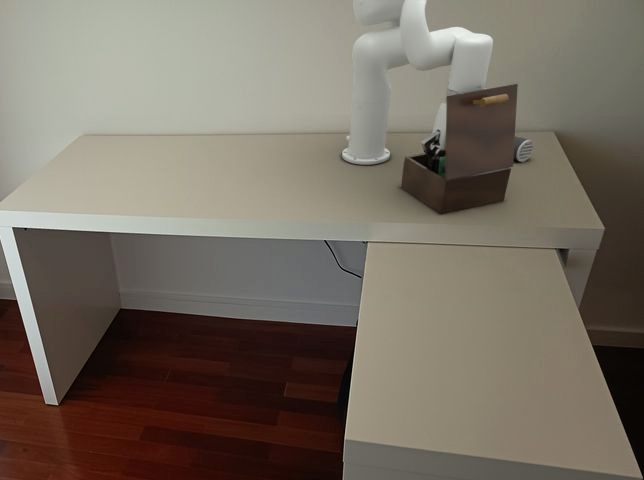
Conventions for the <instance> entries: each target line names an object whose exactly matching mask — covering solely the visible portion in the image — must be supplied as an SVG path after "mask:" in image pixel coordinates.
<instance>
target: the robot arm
mask: <svg viewBox="0 0 644 480" xmlns="http://www.w3.org/2000/svg"><path fill="white" fill-rule="evenodd" d="M351 1H352V9H353V15H354V19H355V21H356V23H358V24H359V25H360V26H365V27H367V26H374V25H379V24H385V23H387V25H388V27H385V28H380V29H376V30H371V31H368V32H366V33H364V34H362V35H361V36H359V37H358V38H357V39H356V40H355V42H354V43H353V46H352V50H351V64H352V72H353V73H352V76H353V81H352V83H353V85H352V98H351V99H352V100H351V111H350V112H351V113H350V124H349V135H346V137H345V140H346V141H347V142H348V146H347V147H346V148H344V149H343V150H342V152H341V158H342V159H343V160H344V161H346V162H348V163H350V164H353V165H354V164H355V165H361V166H363V165H364V166H370V165H379V164H382V163H385V162H386V161H388V160H390V157H391V152H390V150H389V149H388V148H387V147H386V139H387V132H388V131H387V130H388V121H389V115H390V114H389V113H390V107H391V105H390V104H391V96H392V85H391V82H390V79H389V77H388V75H387V71H388V70H392V69H395V68H399V67H403V66H406V65H407V66H408V65H409V64H410V65H411V67H412V68H413V69H415V70H416V71H421V72H425V71H430V70H434V69H438V68H442V67H447V66H450V69H449V74H448V75H449V76H448V81H447V88H446V94H445V99H444V101H443V102H441V104H440V105H439V108H438V110H437V114H436V117H435V120H434V124H433V128H432V132H431V134H430V135H428V136H427V137H426V138H424V139H423V140H422V141H421V143H420V144H421V147H422V149H423V153H426V155H427V156H428V157H429V161H428V167H427V168H428V169H429V170H431V171H433V172H434V173H436V174H438V169H439V163H440V160H439V159H438V158H439V157H440V155H441V154H442V153H443V152H444V151H446V107H447V96H449V95H454V94H460V93H466V92H471V91H477V90H482V89H488V88H487V87H486V81H487V77H488V72H489V67H490V62H491V57H492V52H493V47H494V39H493V38H492V37H491V36H490V35H488V34H486V33H475V32H473V31H471V30H469V29H467V28H464V27H462V26H452V27H447V28H441V29H437V30H432V31H430V30H429V27H428V24H427V18H426V6H427V1H428V0H351ZM431 145H432V146H431ZM436 151H437V152H436ZM435 152H436V153H435Z"/></svg>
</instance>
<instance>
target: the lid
mask: <svg viewBox="0 0 644 480" xmlns="http://www.w3.org/2000/svg"><path fill="white" fill-rule="evenodd" d="M518 86H519V85H518V83H511V84H510V83H509V84H506V85H500V86H494V87H489V88H487V89H482V90H477V91H471V92H466V93H460V94H454V95H449V96H447V107H446V167H445V180H450V179H455V178H460V177H465V176H470V175H475V174H480V173H484V172H489V171H494V170H499V169H504V168H513V167H514V160H515V159H514V142H515V136H516V123H517V106H518V105H517V104H518V88H519V87H518Z"/></svg>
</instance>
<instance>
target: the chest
mask: <svg viewBox="0 0 644 480" xmlns="http://www.w3.org/2000/svg"><path fill="white" fill-rule="evenodd" d="M437 151H438V150H436V152H437ZM436 152H435V153H436ZM444 156H446V151H444V152H443V153H442V154H441V155H440V157H444ZM440 157H439V158H440ZM439 158H438V159H439ZM428 161H429V157H428V156H427V155H426V153H425V152H423V153H418V154H412V155H408V156H405V157H404V162H403V169H402V176H401V184H400V188H401V189H403V191H405V192H407V193H408V194H410V195H411V196H413V197H414V198H415V199H417V200H419V201H420V202H422V203H423V204H424V205H425V206H427V207H429V208H431V209H432V210H433V211H435V213H437V214H439V215H443V214H448V213H453V212H457V211H462V210H467V209H471V208H477V207H480V206H486V205H490V204H494V203H499V202H504V201H505V196H506V192H507V190H508V189H507V188H508V183H509V180H510V175H511V172H512V167H509V168H504V169H499V170H494V171H489V172H484V173H480V174H475V175H470V176H465V177H460V178H455V179H450V180H445V179H444V178H443V177H441V176H439V175H438V174H436V173H434V172H433V171H431V170H429V169H428V168H427V167H428Z"/></svg>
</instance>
